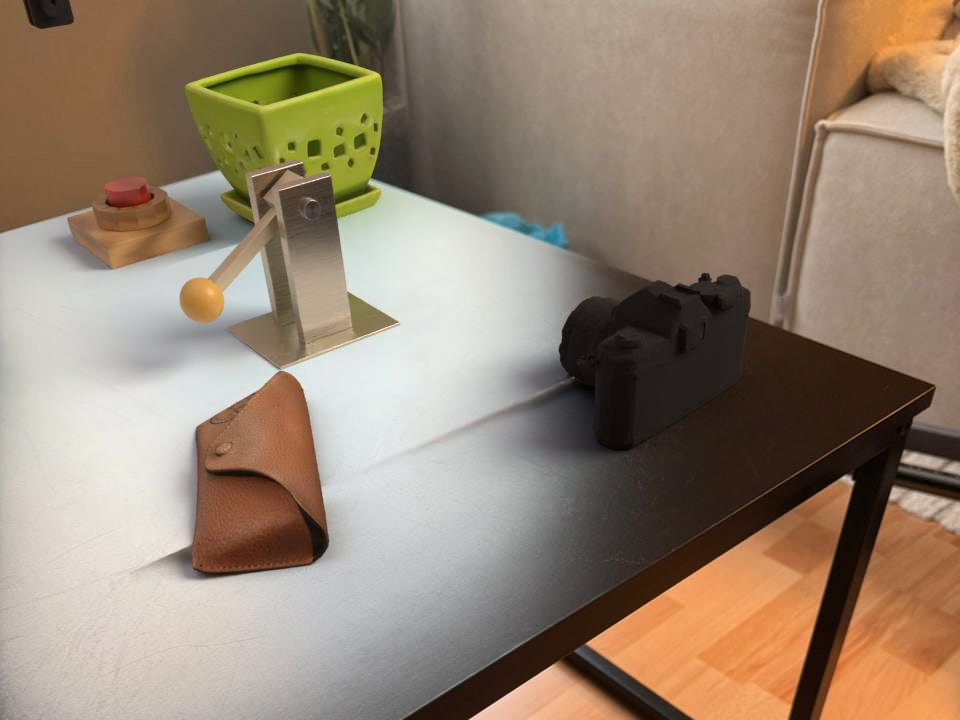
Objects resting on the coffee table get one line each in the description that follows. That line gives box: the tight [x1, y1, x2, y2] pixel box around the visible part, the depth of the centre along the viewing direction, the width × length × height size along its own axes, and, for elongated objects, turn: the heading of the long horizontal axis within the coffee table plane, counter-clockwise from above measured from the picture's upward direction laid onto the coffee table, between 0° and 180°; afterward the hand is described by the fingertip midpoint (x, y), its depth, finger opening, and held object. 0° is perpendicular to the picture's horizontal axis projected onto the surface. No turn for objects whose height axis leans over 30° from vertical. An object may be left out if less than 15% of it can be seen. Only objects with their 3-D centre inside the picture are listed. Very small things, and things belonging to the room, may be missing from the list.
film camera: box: [558, 272, 752, 450], centre depth 70 cm, size 15×10×9 cm, turn 133°
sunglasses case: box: [191, 370, 330, 575], centre depth 65 cm, size 18×7×7 cm
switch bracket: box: [225, 159, 401, 371], centre depth 78 cm, size 11×9×13 cm
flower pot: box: [184, 52, 384, 224], centre depth 97 cm, size 14×14×13 cm
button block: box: [66, 185, 210, 270], centre depth 98 cm, size 10×10×4 cm
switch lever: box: [178, 170, 303, 324], centre depth 74 cm, size 13×3×3 cm
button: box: [103, 176, 152, 208], centre depth 96 cm, size 4×4×2 cm
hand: (52, 24), depth 83 cm, fingers closed
